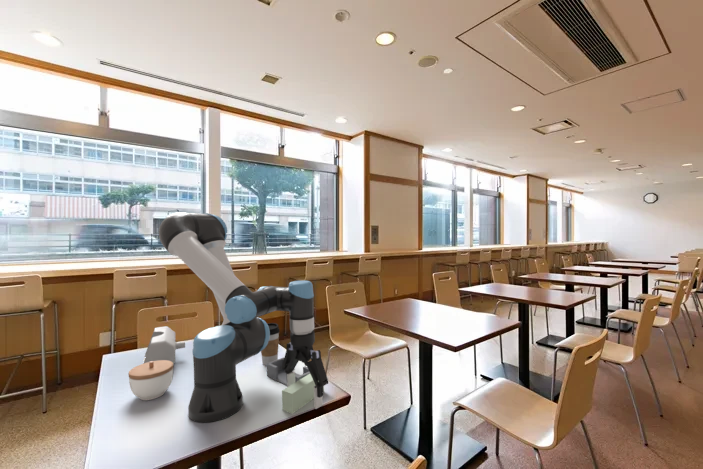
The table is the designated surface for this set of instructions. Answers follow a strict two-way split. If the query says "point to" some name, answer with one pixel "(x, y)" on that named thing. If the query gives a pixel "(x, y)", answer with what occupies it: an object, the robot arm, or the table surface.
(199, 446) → the table surface
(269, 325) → the coffee cup
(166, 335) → the tank
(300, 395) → the block
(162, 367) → the lidded bowl
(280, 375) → the grey holder tray
